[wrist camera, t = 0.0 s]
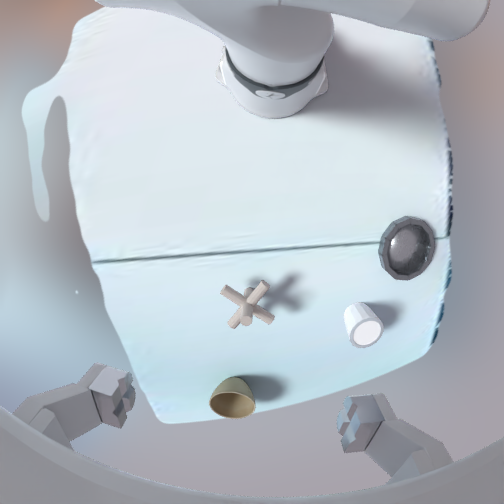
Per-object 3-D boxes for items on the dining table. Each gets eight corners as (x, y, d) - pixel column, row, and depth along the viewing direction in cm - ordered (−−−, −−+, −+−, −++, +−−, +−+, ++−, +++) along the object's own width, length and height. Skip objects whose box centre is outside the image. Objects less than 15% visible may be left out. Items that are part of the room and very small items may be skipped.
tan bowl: (206, 373, 58) (201, 395, 51) (247, 365, 56) (245, 388, 49) (224, 400, 60) (220, 421, 54) (262, 393, 59) (261, 415, 52)
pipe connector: (287, 286, 50) (292, 315, 40) (255, 323, 52) (253, 355, 43) (242, 256, 48) (237, 279, 39) (212, 296, 51) (201, 325, 41)
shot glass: (334, 323, 52) (343, 344, 45) (350, 295, 50) (361, 313, 43) (361, 331, 52) (372, 351, 46) (377, 304, 50) (390, 322, 44)
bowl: (386, 212, 44) (390, 214, 43) (435, 222, 44) (439, 224, 43) (372, 273, 48) (376, 277, 47) (420, 278, 48) (424, 281, 46)
